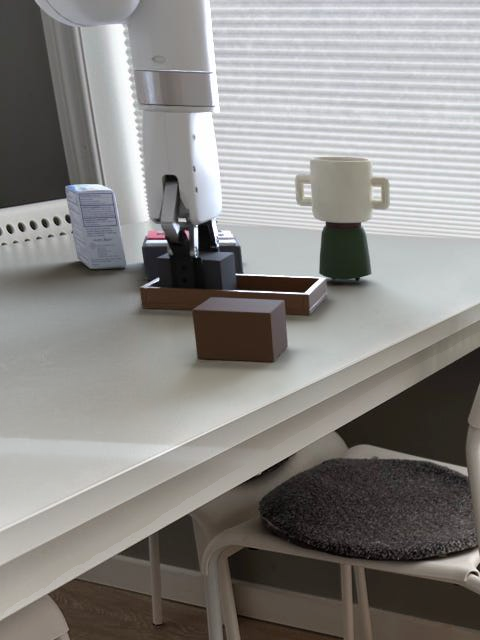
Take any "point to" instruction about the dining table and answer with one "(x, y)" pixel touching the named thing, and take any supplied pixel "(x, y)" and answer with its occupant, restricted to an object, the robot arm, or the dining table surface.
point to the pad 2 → (240, 329)
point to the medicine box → (95, 226)
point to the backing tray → (242, 293)
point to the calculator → (158, 244)
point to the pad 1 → (205, 270)
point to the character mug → (342, 211)
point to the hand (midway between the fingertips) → (199, 290)
